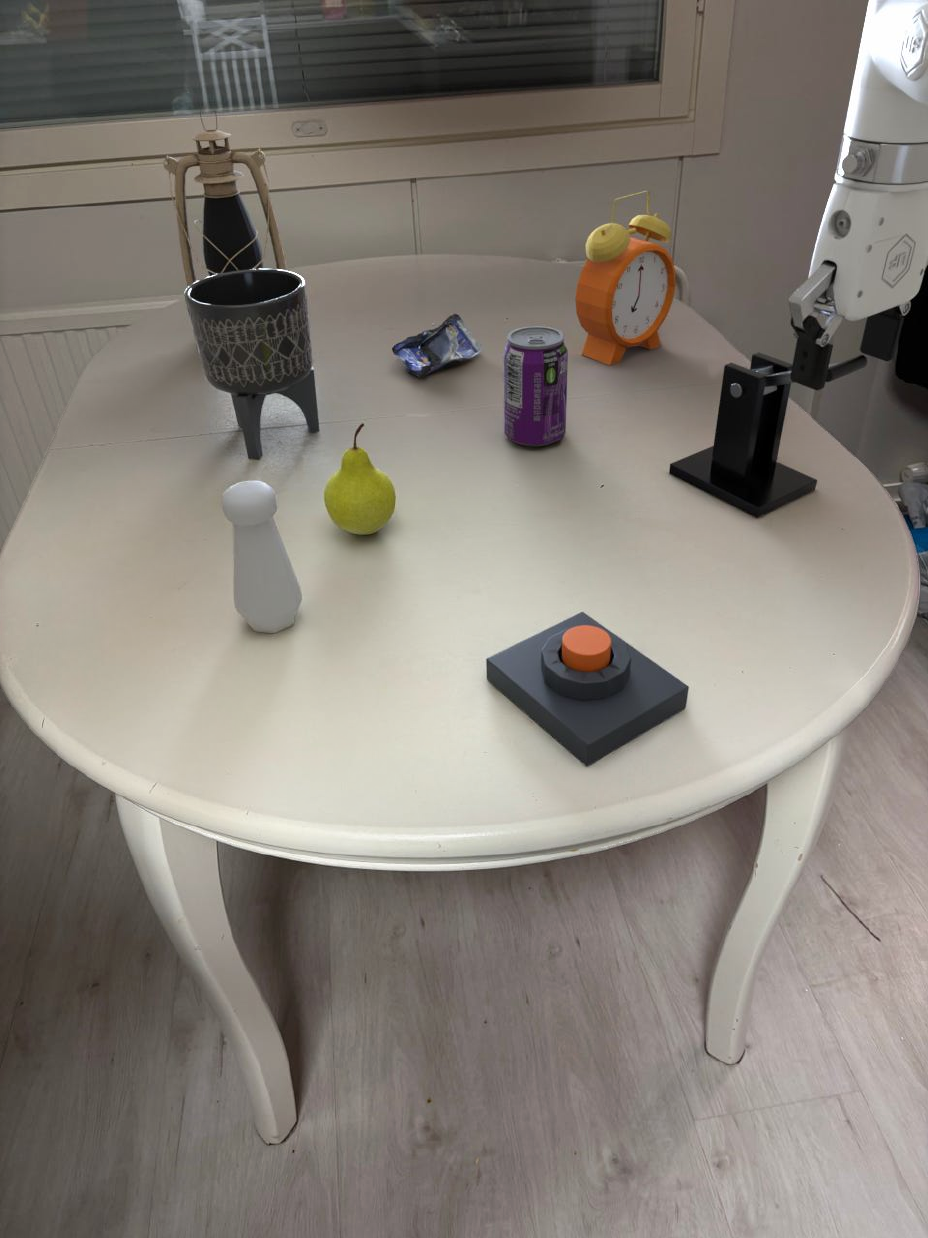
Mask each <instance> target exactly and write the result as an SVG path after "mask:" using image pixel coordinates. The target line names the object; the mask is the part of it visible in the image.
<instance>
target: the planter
mask: <svg viewBox="0 0 928 1238" xmlns="http://www.w3.org/2000/svg"><path fill="white" fill-rule="evenodd" d="M306 285H307V284H306V281H305V279H304V278H303V277H302V276H301V275H299V274H297V273H295V272H293V271H288V270H287V271H284V270H277V268H276V269H274V268H263V269H247V270H237V271H231V272H225V273H221V274H216V275H213V276H210V275H209V276H207V277H204V278H201V279H199V280H196V282H195V283H193V284H192V285H190V286H189V287H188V286H187V288H186V289H185V291H184V293H183V298H184V302H185V306H186V310H187V313H188V317H189V321H190V325H191V328H192V332H193V335H194V341H195V343H196V347H197V351H198V354H199V358H200V361H201V366H202V369H203V373H204V375H205V378H206V380H207V382H208V383H209V384H210V386H212V387H213V388H215V389H217V390H219V391H221V392H224V393H228V394H230V396H231V401H232V406H233V410H234V415H235V419H236V423H237V427H238V428H240V429H241V431H242V437H243V440H244V444H245V449H246V453H247V459H248V460H257V461H258V460H260V459H261V458H262V457H263V447H262V436H261V421H262V420H261V419H262V412H263V411H262V410H263V406H264V403H265V400H266V397H267V396H270V395H274V394H278V395H281V396H283V397H285V398H287V399H289V400H291V401H292V402H293V403H294V404H295V405H296V406H297V407H298V408H299V409H300V410H301V412H302V414H303V416H304V419H305V422H306V426H307V428H308V432H309V433H310V434H313V433H318V432H320V422H319V421H320V419H319V411H318V410H319V409H318V400H317V390H316V380H315V379H316V378H315V370H314V367H313V365H314V360H313V359H314V358H313V349H312V348H313V347H312V339H311V338H312V337H311V327H310V317H309V306H308V305H309V304H308V295H307V294H308V293H307V286H306Z"/></svg>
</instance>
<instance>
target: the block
mask: <svg viewBox="0 0 928 1238" xmlns="http://www.w3.org/2000/svg"><path fill="white" fill-rule="evenodd" d="M582 625H589V626H595V627H598V628H601V629H603V630H604V631H605V632H607V633H608V635H609V636H610V638H611V652H610V661H609V663H608V665H607V666H606V667H605V668H604V669H602V670H600V671H596V672H586V673H584V672H580V671H576V670H572V669H570V668H568V667H567V666H566V665H565V664H564V662H563V660H562V639H563V636H564V634H565V633H566V632H567V631H568V630H569V629H571V628H573V627H576V626H582ZM485 667H486V669H485V670H486V681H488V682H489V683H490V684H491V685H493V686H494V688H496V689H497V690H498V691H499V692H500V693H502V694H503V695H504V696H505V697H506V698H507V699H509V700H510V701H511V702H512V703H513V704H514V705H516V706H517V707H518V708H519V709H520V710H521V711H523V713H525V714H526V715H527V716H528V717H529V718H531V719H532V720H533V721H534V722H535V723H536V724H537V725H538V726H540V727H541V728H542V729H543V730H544V731H545V732H547V734H549V735H550V737H552V738H553V739H554V740H556V741H557V742H558V743H559V744H560V745H562V746H563V747H564V748H565V749H566V750H567V751H568V752H570V753H571V754H572V755H573V756H574V757H575V758H576V759H578V760H579V761H580V762H581V763H582V764H583V765H585V766H586V767H589V766H590V765H592V764H593V763H596V762H597V761H599V760H601V759H602V758H604V757H605V756H608V755H609V754H611V753H612V752H614V751H615V750H617V749H619V748H621V747H623V746H624V745H626V744H628V743H629V742H631V741H633V740H634V739H636V738H638V737H639V736H641V735H643V734H645V733H646V732H648V731H649V730H651V729H653V728H654V727H656V726H657V725H659V724H662V723H663V722H665V721H666V720H668V719H670V718H672V717H673V716H675V715H677V714H679V713H680V712H681V711H683V710H685V709H687V702H688V697H689V689H690V686H689V685H687V684H686V683H685V682H683V681H681V680H680V679H679V678H678V677H676V676H675V675H674V674H672V673H671V672H669V671H668V670H666V669H665V668H664V667H662V666H660V665H659V664H658V663H656V662H655V661H653V660H652V659H650V658H649V657H648V656H646V655H645V654H643V653H642V652H641V651H639V650H637V649H636V648H635V647H633V646H632V645H631V644H629V643H628V642H627V641H625V640H623V638H621V637H619V636H618V635H617V634H615V633H614V632H613V631H611V630H610V629H608V628H607V627H606V626H604V625H602V624H601V623H600V622H598V621H597V620H596V619H594V618H592V617H591V616H590V615H588V614H587V613H585V612H584V611H580V612H578V613H576V614H574V615H572V616H570V617H568V618H566V619H564V620H562V621H560V622H557V623H556V624H554V625H552V626H549V627H548V628H546V629H544V630H542V631H539V632H538V633H536V634H533V635H531V636H530V637H528V638H526V639H523V640H521V641H519V642H518V643H515V644H513V645H511V646H509V647H506V648H505V649H503V650H501V651H499V652H497V653H495V654H492V655H490V656H489V657H486V659H485Z"/></svg>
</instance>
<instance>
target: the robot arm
mask: <svg viewBox="0 0 928 1238" xmlns="http://www.w3.org/2000/svg"><path fill="white" fill-rule="evenodd" d="M864 19H865V20H864V24H863V29H862V35H861V39H860V45H859V50H858V56H857V61H856V66H855V70H854V71H855V72H854V75H853V76H854V77H853V81H852V87H851V91H850V97H849V103H848V107H847V112H846V118H845V123H844V128H843V133H842V138H841V143H840V146H839V147H840V148H839V153H838V159H837V164H836V169H835V174H834V181H835V182H834V184H833V186H832V189H831V192H830V194H829V198H828V201H827V203H826V206H825V210H824V213H823V216H822V218H821V219H822V220H821V223H820V226H819V230H818V234H817V237H816V240H815V245H814V250H813V252H812V253H813V254H812V257H811V261H810V262H811V263H810V268H809V273H808V278H807V279H806V280H805V281H804V282H803V283H802V284H801V285H800V286H799V287H798V288H797V289H796V290H795V291H794V292H793V293H792V294H791V295H790V297H789V298H788V306H789V312H790V326H791V327H792V329H793V337H794V338H796V343H795V349H794V353H793V354H794V355H793V358H792V363H791V364H792V370H791V375H790V378H791V380H792V381H793V382H795V384H799V385H801V386H804V387H807V388H809V389H812V390H814V391H821V390H822V389H824V388H825V386H826V382H825V381H826V377H827V372H828V367H829V364H831V358H832V353H833V348H834V344H832V343H829V342H830V340H831V339H832V337H833V336H834V334H835V333H836V331H837V329H838V328H839V326H840V325H841V323H842V321H843V320H844V319H845V320H846V321H849V322H858V321H860V320H863V319H866V321H865V326H864V330H863V334H862V338H861V343H860V347H859V351H860V353H862V355H867V356H869V357H871V358H874V359H875V358H876V359H879V360H881V361H885V362H890V361H892V360H893V359H894V358H895V355H896V351H897V347H898V343H899V339H900V335H901V331H902V328H903V324H904V320H905V317H904V316H906V315H907V314H908V313H909V312H910V310H911V306H912V303H911V300H912V299H914V298H915V297H916V296H917V294H918V293H919V291H920V289H921V286H922V283H923V278H924V275H925V271H926V269H927V266H928V0H868V3H867V8H866V14H865V18H864ZM832 304H834V305H832ZM820 315H822V316H825V317H826V316H827V317H828V318H827V319H826V321H825V322H824V324H823V325H822V326H821V324H820V322H819V321H818V317H819V316H820Z"/></svg>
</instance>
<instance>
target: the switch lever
mask: <svg viewBox="0 0 928 1238" xmlns="http://www.w3.org/2000/svg"><path fill="white" fill-rule="evenodd" d="M867 364H868V358H867V356H865V354H858V355H856V356H853V357H851V358H848V359H846V360H844V361H841V362H835V363H829V367H828V372H827V377H826V381H825V383H830V382H832V381H835V380H837V379H840V378H842V377H844V376H847V375H849V374H852V373H854V372H856V371H859V370H862V369H864V368H866V366H867ZM751 370H753V371H755V372H758V373H760V374H763V375H766V376H767V377H766V383H765V389H764V395H766V394H768V393H771V392H773V391H776V390H777V385H782V384H789V383H791V384H794V383H795V384H796V382H793V381H792V380H791V378H790V375H791V371H786V372H780V373H774V370H773V366H767V367H762V368H756V369H751Z"/></svg>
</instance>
